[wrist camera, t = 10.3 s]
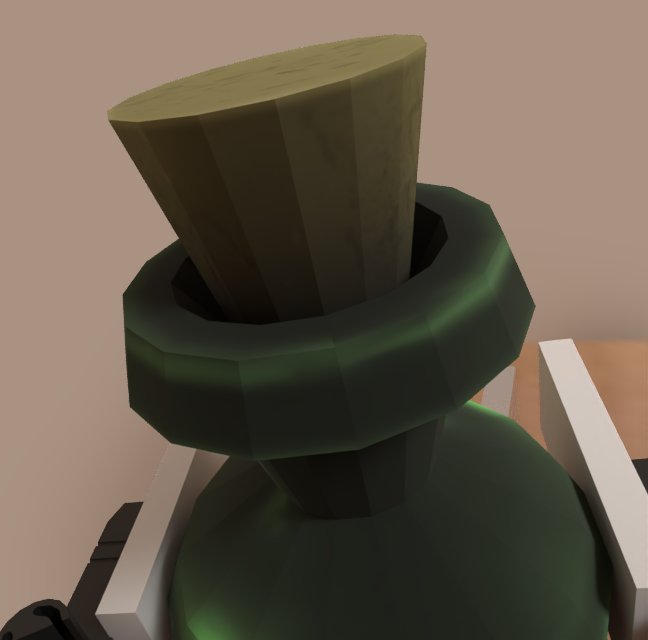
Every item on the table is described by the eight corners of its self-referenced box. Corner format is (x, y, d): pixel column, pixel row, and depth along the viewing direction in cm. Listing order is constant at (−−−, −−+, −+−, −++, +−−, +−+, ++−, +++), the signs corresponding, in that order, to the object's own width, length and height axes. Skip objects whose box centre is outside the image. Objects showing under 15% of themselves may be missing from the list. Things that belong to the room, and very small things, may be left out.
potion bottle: (299, 1049, 12) (-378, 320, 4) (275, 666, 20) (29, 98, 11) (675, 949, 13) (947, -2, 4) (516, 604, 20) (475, -9, 11)
